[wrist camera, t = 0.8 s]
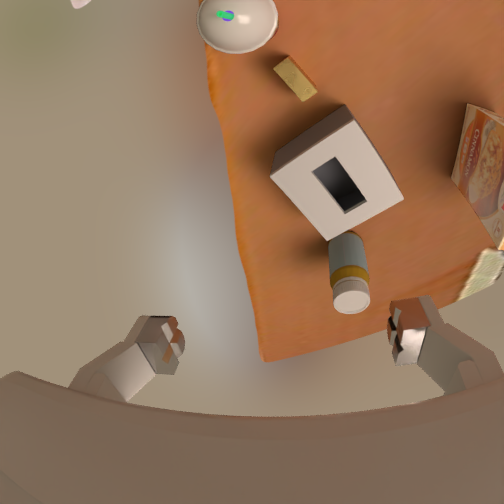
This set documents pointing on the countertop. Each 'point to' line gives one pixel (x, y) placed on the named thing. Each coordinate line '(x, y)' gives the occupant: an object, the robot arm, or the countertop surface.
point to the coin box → (335, 174)
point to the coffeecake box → (483, 168)
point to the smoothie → (237, 24)
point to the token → (296, 78)
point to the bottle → (348, 273)
